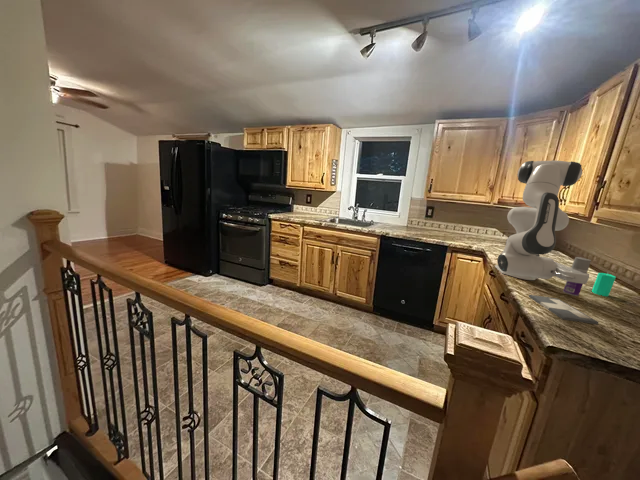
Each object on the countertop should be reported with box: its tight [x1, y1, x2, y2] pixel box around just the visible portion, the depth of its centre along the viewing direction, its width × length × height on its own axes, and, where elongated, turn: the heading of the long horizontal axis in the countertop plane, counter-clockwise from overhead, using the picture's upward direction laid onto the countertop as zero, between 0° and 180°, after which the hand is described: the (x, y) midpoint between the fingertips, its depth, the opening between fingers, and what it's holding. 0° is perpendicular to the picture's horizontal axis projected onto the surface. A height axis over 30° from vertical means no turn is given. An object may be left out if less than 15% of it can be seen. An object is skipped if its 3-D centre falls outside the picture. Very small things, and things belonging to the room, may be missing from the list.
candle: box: [591, 272, 617, 297], centre depth 127 cm, size 6×6×12 cm
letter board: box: [528, 294, 599, 325], centre depth 105 cm, size 20×12×1 cm, turn 172°
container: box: [562, 256, 592, 297], centre depth 102 cm, size 5×5×15 cm
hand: (580, 272), depth 101 cm, fingers closed on container, 5 cm apart
